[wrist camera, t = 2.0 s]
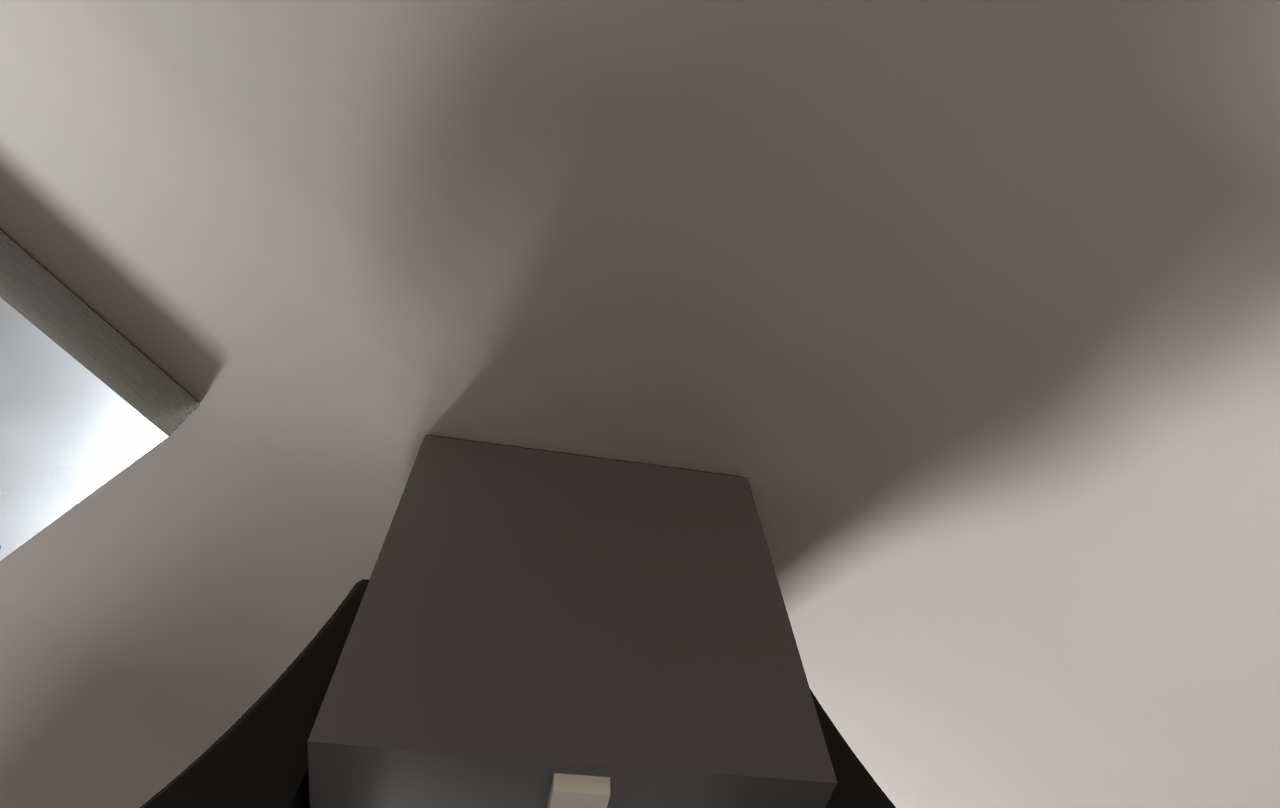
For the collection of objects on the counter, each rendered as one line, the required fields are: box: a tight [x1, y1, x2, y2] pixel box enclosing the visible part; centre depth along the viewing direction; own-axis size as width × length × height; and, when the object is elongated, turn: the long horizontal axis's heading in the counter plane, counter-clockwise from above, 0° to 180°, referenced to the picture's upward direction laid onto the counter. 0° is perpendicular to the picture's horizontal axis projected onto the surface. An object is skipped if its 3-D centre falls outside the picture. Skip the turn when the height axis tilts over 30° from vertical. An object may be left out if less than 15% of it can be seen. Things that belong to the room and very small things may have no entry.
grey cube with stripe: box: [307, 435, 837, 808], centre depth 12 cm, size 6×6×6 cm
